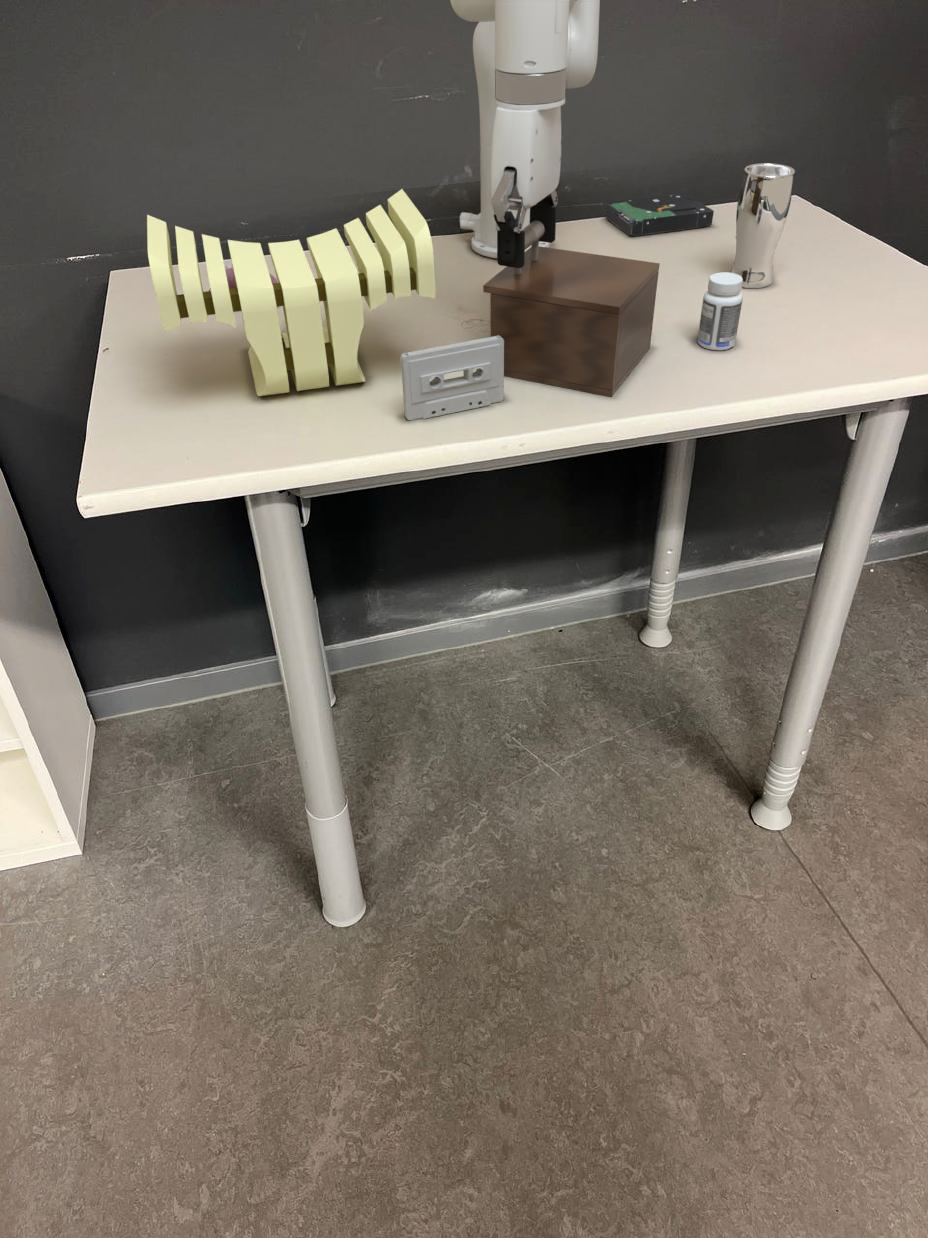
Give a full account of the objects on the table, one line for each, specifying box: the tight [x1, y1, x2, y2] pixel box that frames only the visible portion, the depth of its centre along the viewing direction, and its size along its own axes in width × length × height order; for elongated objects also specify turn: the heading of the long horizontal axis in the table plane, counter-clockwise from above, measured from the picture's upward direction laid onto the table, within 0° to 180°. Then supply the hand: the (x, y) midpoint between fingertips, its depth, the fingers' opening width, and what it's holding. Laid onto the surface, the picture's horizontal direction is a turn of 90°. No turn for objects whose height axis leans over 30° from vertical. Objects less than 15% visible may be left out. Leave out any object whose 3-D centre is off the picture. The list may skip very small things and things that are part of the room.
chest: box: [489, 270, 660, 398], centre depth 112 cm, size 16×15×10 cm
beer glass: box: [729, 162, 796, 289], centre depth 129 cm, size 7×7×15 cm
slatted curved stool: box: [146, 188, 437, 397], centre depth 109 cm, size 30×16×18 cm, turn 105°
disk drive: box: [605, 193, 715, 236], centre depth 153 cm, size 10×3×15 cm
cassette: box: [400, 335, 505, 421], centre depth 103 cm, size 12×2×8 cm, turn 112°
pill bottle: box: [697, 271, 744, 351], centre depth 115 cm, size 5×5×8 cm
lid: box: [482, 221, 661, 314], centre depth 107 cm, size 16×15×5 cm
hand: (526, 252), depth 109 cm, fingers open, 8 cm apart
